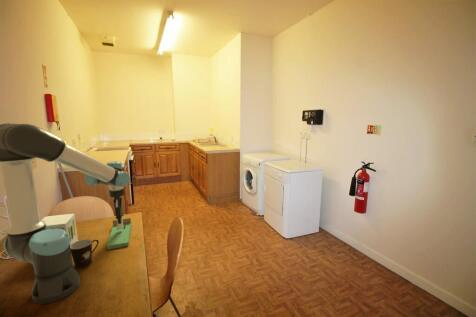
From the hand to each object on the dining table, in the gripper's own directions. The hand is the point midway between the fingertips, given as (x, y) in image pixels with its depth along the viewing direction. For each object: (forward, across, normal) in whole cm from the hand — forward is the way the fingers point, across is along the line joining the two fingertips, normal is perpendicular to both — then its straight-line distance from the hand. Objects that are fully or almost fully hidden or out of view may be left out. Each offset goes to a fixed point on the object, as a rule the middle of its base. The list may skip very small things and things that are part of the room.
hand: (120, 227), depth 136 cm
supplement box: (+4, -10, +27) cm, 29 cm away
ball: (+2, +5, +1) cm, 5 cm away
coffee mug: (+4, -25, +12) cm, 28 cm away
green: (+4, -3, 0) cm, 5 cm away
